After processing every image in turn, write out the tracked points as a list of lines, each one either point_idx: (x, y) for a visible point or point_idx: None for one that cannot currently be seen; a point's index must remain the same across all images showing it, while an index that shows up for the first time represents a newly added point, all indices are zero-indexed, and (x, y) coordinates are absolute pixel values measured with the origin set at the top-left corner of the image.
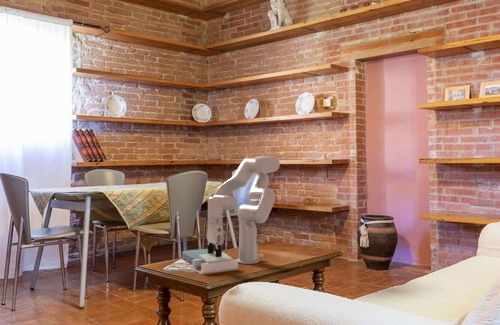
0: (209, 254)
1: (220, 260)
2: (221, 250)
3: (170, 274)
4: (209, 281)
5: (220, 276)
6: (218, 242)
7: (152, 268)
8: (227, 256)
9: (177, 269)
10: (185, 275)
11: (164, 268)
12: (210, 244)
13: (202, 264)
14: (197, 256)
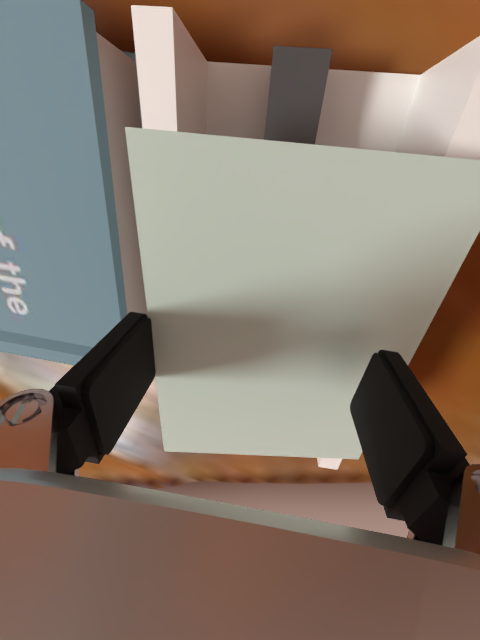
0: (187, 378)
1: (404, 358)
2: (441, 424)
3: (228, 481)
4: (474, 454)
5: (457, 363)
6: (238, 521)
7: (98, 474)
8: (372, 201)
9: (153, 430)
10: (283, 460)
11: (113, 452)
12: (64, 458)
13: (336, 466)
14: (17, 332)
